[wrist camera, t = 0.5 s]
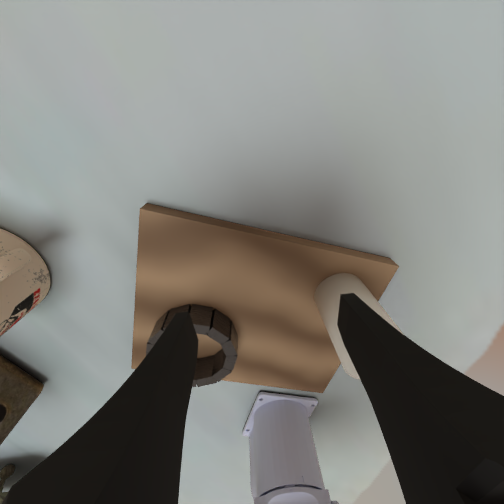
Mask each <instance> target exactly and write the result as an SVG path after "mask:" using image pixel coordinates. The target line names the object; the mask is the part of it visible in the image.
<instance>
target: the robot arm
mask: <svg viewBox="0 0 504 504" xmlns="http://www.w3.org/2000/svg"><path fill="white" fill-rule="evenodd" d="M337 326H338V329H339V332H340V335H341V338H342V340H343V343H344V346H345V348H346V350H347V352H348V354H349V357H350V359H351V361H352V363H353V365H354V367H355V369H356V371H357V373H358V375H359V377H360V379H361V382H362V384H363V386H364V388H365V390H366V392H367V394H368V396H369V399H370V401H371V403H372V406H373V409H374V411H375V414H376V417H377V419H378V422H379V425H380V427H381V430H382V433H383V436H384V439H385V441H386V444H387V447H388V450H389V453H390V456H391V459H392V462H393V465H394V467H395V470H396V473H397V476H398V479H399V482H400V485H401V489H402V492H403V495H404V498H405V501H406V504H504V396H502V395H500V394H499V393H497V392H495V391H493V390H491V389H489V388H487V387H485V386H483V385H481V384H480V383H478V382H476V381H474V380H472V379H471V378H469V377H467V376H466V375H464V374H462V373H461V372H459V371H457V370H455V369H454V368H452V367H451V366H449V365H447V364H446V363H444V362H442V361H441V360H439V359H438V358H436V357H435V356H433V355H432V354H430V353H429V352H427V351H426V350H424V349H423V348H421V347H420V346H418V345H417V344H416V343H414V342H413V341H411V340H410V339H409V338H407V337H406V336H405V335H403V334H402V333H401V332H399V331H398V330H397V329H396V328H394V327H393V326H392V325H391V324H389V323H388V322H387V321H386V320H385V319H383V318H382V317H381V316H380V315H379V314H377V313H376V312H375V311H374V310H373V309H372V308H370V307H369V306H368V305H367V304H366V303H365V302H364V301H362V300H361V299H360V298H359V297H358V296H357V295H355V294H354V293H348V294H340V303H339V312H338V321H337ZM198 341H199V340H198V337H197V334H196V331H195V328H194V325H193V322H192V319H191V316H190V313H189V312H181V313H176V314H175V315H174V317H173V318H172V320H171V321H170V323H169V324H168V326H167V327H166V329H165V330H164V332H163V333H162V334H161V336H160V337H159V339H158V340H157V342H156V343H155V344H154V346H153V347H152V349H151V350H150V351H149V353H148V354H147V355H146V357H145V358H144V359H143V361H142V362H141V363H140V364H139V366H138V367H137V368H136V369H135V371H134V372H133V373H132V374H131V376H130V377H129V378H128V379H127V380H126V382H125V383H124V384H123V385H122V386H121V387H120V388H119V389H118V391H117V392H116V393H115V394H114V395H113V396H112V397H111V398H110V399H109V400H108V401H107V402H106V403H105V404H104V406H103V407H102V408H101V409H100V410H99V411H98V412H97V413H96V414H95V415H94V416H93V417H92V418H91V419H90V420H89V421H88V422H87V423H86V424H84V425H83V426H82V427H81V428H80V429H79V430H78V431H77V432H76V433H75V434H74V435H73V436H71V437H70V438H69V439H68V440H67V441H66V442H65V443H64V444H63V445H61V446H60V447H59V448H58V449H57V450H56V451H55V452H53V453H52V454H51V455H50V456H49V457H48V458H46V459H45V460H44V461H43V462H41V463H40V464H39V465H38V466H37V467H35V468H34V469H33V470H32V471H31V472H29V473H28V474H27V475H26V476H24V477H23V478H22V479H21V480H20V481H18V482H17V483H16V484H14V485H13V486H12V487H11V489H10V490H9V492H8V494H7V495H6V497H5V499H4V500H3V502H2V504H178V496H179V482H180V470H181V459H182V448H183V439H184V430H185V421H186V415H187V409H188V404H189V399H190V394H191V389H192V384H193V379H194V374H195V369H196V363H197V354H198ZM317 404H318V401H317V399H315V398H307V397H299V396H291V395H283V394H275V393H267V392H260V393H259V394H258V396H257V398H256V400H255V403H254V405H253V407H252V410H251V412H250V415H249V417H248V419H247V422H246V424H245V427H244V429H243V435H244V436H249V446H250V484H251V492H252V496H253V499H254V504H339V503H338V502H337V501H331V500H330V496H329V492H328V490H327V489H325V487H324V483H323V479H322V474H321V470H320V466H319V461H318V457H317V453H316V448H315V444H314V440H313V435H312V431H311V427H310V423H309V417H310V415H311V414H312V412H313V410H314V409H315V407H316V405H317Z"/></svg>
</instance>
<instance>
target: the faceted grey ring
mask: <svg viewBox="0 0 504 504" xmlns="http://www.w3.org/2000/svg"><path fill="white" fill-rule="evenodd" d="M212 310H213V307H209V306H203V305H197V304H192V307H191V305H190V304H187V305H183V306H179V307H175V308H171V309H170V310H168V311H167V312H166V313H165V314H164V315H163V316H162V317H161V318H160V319H159V320H158V321H157V322H156V324H155V326H154V328H153V331H152V333H151V335H150V337H149V340H148V342H147V347H146V355H147V354H148V353H149V351H150V350H151V349H152V347H153V346H154V344H155V343H156V342H157V340H158V339H159V337H160V336H161V334H162V333H163V332H164V330H165V329H166V327H167V326H168V324H169V323H170V321H171V320H172V318H173V317H174V315H175V314H176V313H181V312H189V313H190V316H191V319H192V322H193V325H194V328H195V331H196V334H203V335H207V336H208V337H210V338H212V339H213V340H215V341H216V342H218V343H219V344H221V346H222V349H221V350H220V351H218V352H217V353H216V354H215V355H212V356H207V357H203V358H197V363H196V369H195V374H194V379H193V384H192V386H193V387H196V384H197V386H198V387H199V386H204V385H208V384H213V383H217V381H218V382H219V381H220V380H222V379H223V378H224V377H226V376H227V375H228V374H230V373H231V372H232V370H233V369H234V366H235V363H236V359H237V350H238V334H237V331H236V329H235V327H234V324H233V322H232V320H231V321H230V318H229V317H227V316H226V315H224V314H223V313H222V312H220V311H219V310H217V309H216V308H215V309H214V310H213V311H212Z"/></svg>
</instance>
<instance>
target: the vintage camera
mask: <svg viewBox="0 0 504 504" xmlns="http://www.w3.org/2000/svg"><path fill="white" fill-rule="evenodd" d="M43 386H44V384H42V383H41V382H39V381H38V380H37V379H35V378H34V377H32V376H31V375H29V374H28V373H26V372H25V371H23V370H22V369H20V368H19V367H17V366H16V365H14V364H13V363H11V362H10V361H8V360H7V359H5V358H4V357H2V356H1V355H0V445H1V444H2V442H3V441H4V440H5V438H6V437H7V436H8V434H9V433H10V432H11V431H12V429H13V428H14V427H15V425H16V424H17V423H18V421H19V420H20V419H21V418H22V416H23V415H24V414H25V412H26V411H27V410H28V408H29V407H30V406H31V404H32V403H33V402H34V401H35V399H36V398H37V397H38V396H39V395H40V393H41V391H42V389H43Z"/></svg>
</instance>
